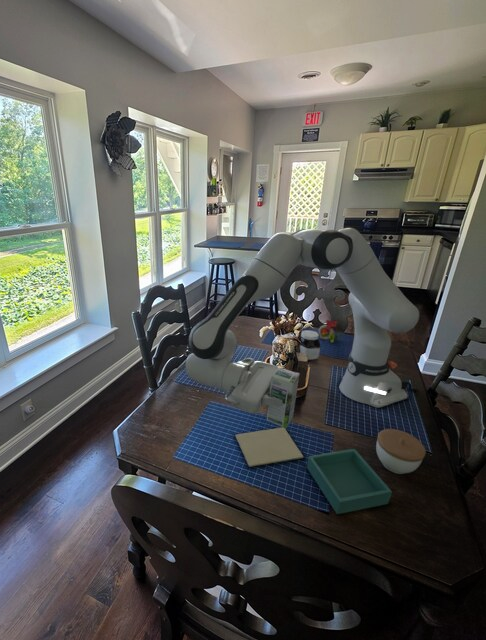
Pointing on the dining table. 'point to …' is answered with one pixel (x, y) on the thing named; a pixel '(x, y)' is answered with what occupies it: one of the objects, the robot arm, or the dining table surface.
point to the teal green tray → (348, 481)
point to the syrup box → (283, 396)
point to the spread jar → (310, 344)
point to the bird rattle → (325, 331)
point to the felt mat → (268, 446)
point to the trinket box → (399, 451)
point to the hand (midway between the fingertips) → (286, 394)
